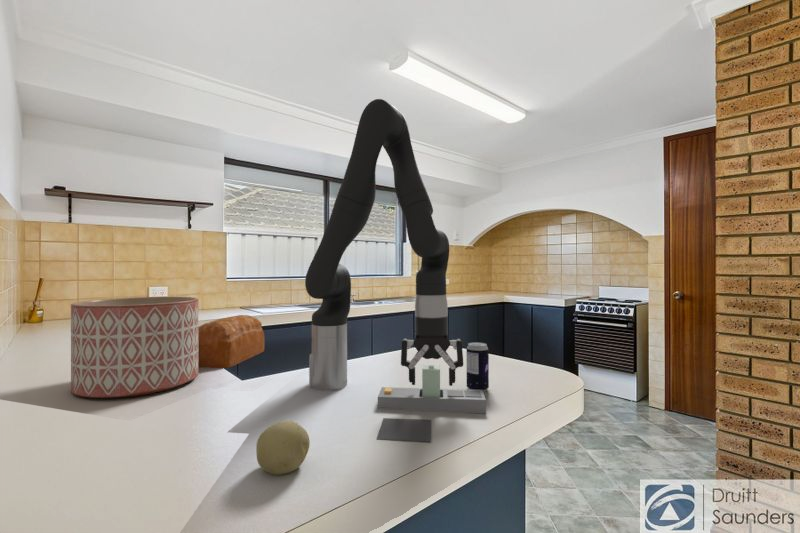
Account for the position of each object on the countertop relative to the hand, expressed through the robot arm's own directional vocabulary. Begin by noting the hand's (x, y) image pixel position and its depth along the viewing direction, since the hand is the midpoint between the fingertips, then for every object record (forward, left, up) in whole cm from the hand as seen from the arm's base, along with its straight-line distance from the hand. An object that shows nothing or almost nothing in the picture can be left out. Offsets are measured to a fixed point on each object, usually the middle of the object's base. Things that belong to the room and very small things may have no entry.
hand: (432, 384), depth 90 cm
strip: (0, 0, -5) cm, 5 cm away
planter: (-76, +5, -5) cm, 77 cm away
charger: (0, 0, -4) cm, 4 cm away
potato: (-23, -31, -5) cm, 39 cm away
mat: (-5, -14, -5) cm, 16 cm away
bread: (-68, +35, -5) cm, 76 cm away
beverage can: (+12, +13, -5) cm, 18 cm away
